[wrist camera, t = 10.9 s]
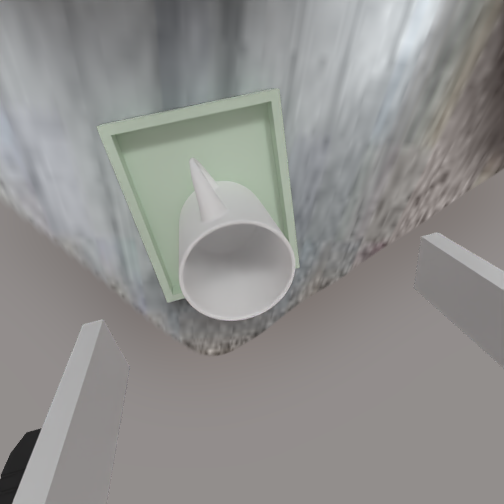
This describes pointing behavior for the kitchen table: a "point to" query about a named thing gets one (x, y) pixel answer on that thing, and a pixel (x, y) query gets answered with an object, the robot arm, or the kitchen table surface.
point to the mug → (230, 251)
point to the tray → (212, 159)
